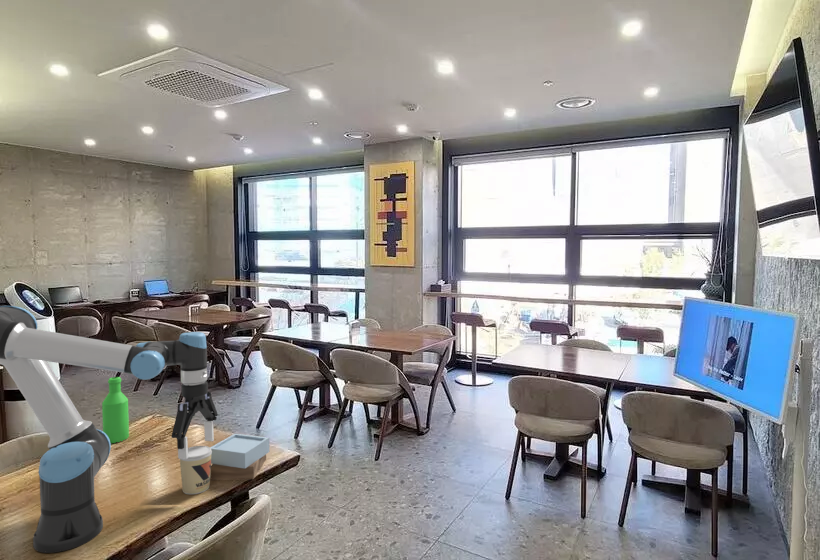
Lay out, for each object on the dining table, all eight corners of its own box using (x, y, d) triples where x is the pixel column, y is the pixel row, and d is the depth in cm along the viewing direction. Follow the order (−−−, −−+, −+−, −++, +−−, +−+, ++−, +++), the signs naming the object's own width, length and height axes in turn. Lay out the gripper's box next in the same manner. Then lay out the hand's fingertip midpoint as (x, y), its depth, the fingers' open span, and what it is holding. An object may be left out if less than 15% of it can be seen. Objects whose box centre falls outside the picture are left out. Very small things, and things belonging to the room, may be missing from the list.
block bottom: (253, 481, 155) (253, 466, 155) (210, 481, 155) (210, 466, 155) (266, 463, 169) (266, 449, 169) (226, 463, 169) (226, 449, 169)
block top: (245, 468, 153) (245, 453, 153) (208, 463, 157) (208, 448, 157) (269, 451, 167) (269, 437, 167) (235, 447, 171) (235, 433, 170)
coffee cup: (197, 498, 144) (196, 459, 143) (172, 493, 147) (172, 454, 146) (218, 484, 152) (218, 447, 152) (195, 479, 155) (194, 443, 155)
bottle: (127, 434, 195) (125, 374, 194) (131, 440, 188) (129, 378, 187) (101, 439, 189) (99, 377, 188) (104, 446, 183) (103, 382, 181)
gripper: (180, 394, 135) (182, 467, 136) (227, 372, 160) (229, 434, 161) (156, 393, 136) (158, 465, 137) (206, 372, 161) (208, 433, 162)
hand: (196, 449), depth 149 cm, fingers open, 13 cm apart
